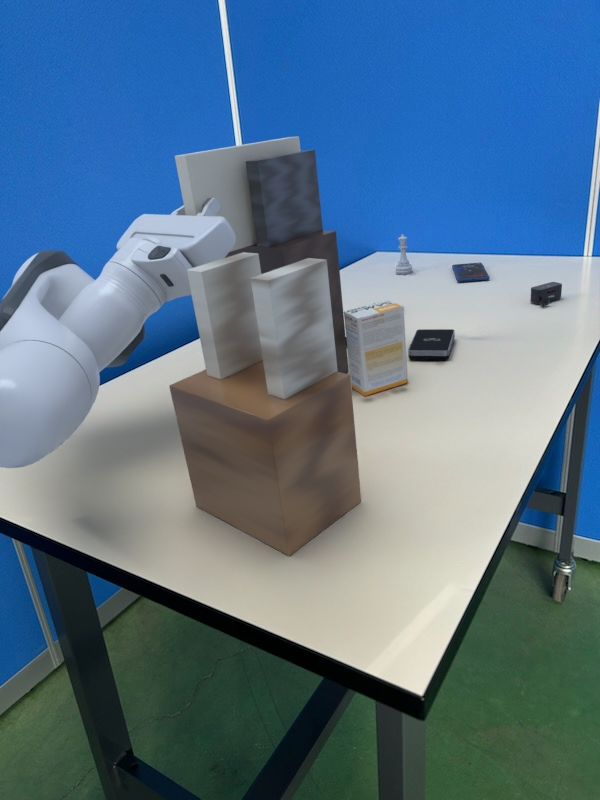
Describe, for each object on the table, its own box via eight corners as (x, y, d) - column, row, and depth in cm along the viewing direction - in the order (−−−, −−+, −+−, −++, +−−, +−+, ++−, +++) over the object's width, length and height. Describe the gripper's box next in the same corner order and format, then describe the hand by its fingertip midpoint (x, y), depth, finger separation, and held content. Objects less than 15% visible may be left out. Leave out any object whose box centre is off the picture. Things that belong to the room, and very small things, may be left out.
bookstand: (301, 398, 100) (270, 159, 85) (236, 378, 110) (199, 163, 95) (348, 372, 107) (328, 148, 92) (283, 356, 118) (256, 153, 103)
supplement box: (393, 374, 104) (388, 298, 98) (408, 383, 100) (405, 305, 94) (349, 387, 101) (342, 310, 96) (363, 397, 97) (357, 317, 92)
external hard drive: (454, 339, 115) (454, 329, 114) (448, 362, 106) (448, 351, 105) (417, 339, 118) (417, 329, 117) (407, 361, 108) (407, 351, 107)
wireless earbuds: (525, 304, 129) (526, 288, 128) (552, 296, 131) (553, 281, 130) (542, 308, 125) (543, 293, 124) (569, 301, 127) (570, 285, 126)
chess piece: (414, 270, 165) (412, 232, 160) (410, 274, 161) (409, 235, 157) (397, 270, 166) (395, 232, 162) (394, 275, 163) (391, 236, 158)
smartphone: (457, 279, 148) (451, 264, 162) (457, 282, 149) (451, 267, 162) (490, 276, 147) (481, 262, 160) (490, 280, 147) (481, 265, 161)
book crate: (289, 556, 64) (248, 294, 53) (195, 506, 75) (144, 278, 63) (361, 501, 72) (340, 260, 60) (267, 462, 82) (233, 251, 71)
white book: (204, 259, 89) (185, 155, 83) (193, 258, 90) (174, 155, 84) (309, 228, 102) (299, 136, 96) (298, 227, 104) (287, 137, 98)
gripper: (121, 280, 93) (177, 217, 97) (206, 294, 79) (266, 220, 84) (93, 248, 88) (152, 184, 93) (177, 258, 75) (242, 181, 79)
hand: (207, 201), depth 88 cm, fingers closed on white book, 2 cm apart
